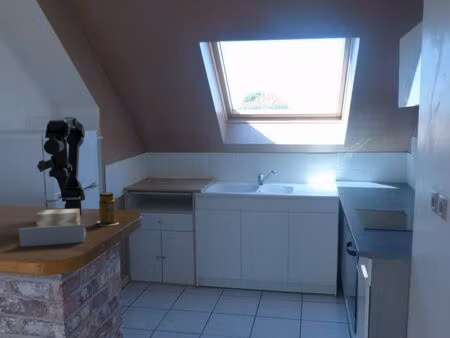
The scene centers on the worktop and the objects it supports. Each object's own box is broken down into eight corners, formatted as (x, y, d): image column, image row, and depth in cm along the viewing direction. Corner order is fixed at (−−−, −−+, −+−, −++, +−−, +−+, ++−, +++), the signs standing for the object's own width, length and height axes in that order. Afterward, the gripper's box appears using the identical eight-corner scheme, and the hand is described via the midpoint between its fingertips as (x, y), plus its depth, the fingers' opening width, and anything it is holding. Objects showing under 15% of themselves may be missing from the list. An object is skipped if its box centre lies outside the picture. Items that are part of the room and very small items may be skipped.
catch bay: (27, 237, 158) (26, 221, 157) (87, 233, 162) (86, 217, 161) (20, 246, 147) (18, 229, 146) (84, 242, 151) (83, 224, 151)
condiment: (114, 219, 182) (113, 191, 181) (119, 224, 175) (118, 194, 173) (96, 222, 179) (95, 192, 177) (100, 226, 171) (99, 196, 170)
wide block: (80, 229, 169) (79, 208, 168) (77, 234, 162) (76, 212, 161) (42, 231, 167) (40, 210, 166) (37, 236, 160) (35, 214, 159)
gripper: (42, 150, 181) (45, 188, 183) (33, 155, 163) (36, 197, 165) (71, 150, 183) (73, 187, 185) (64, 154, 165) (67, 195, 167)
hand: (62, 191), depth 175 cm, fingers closed
